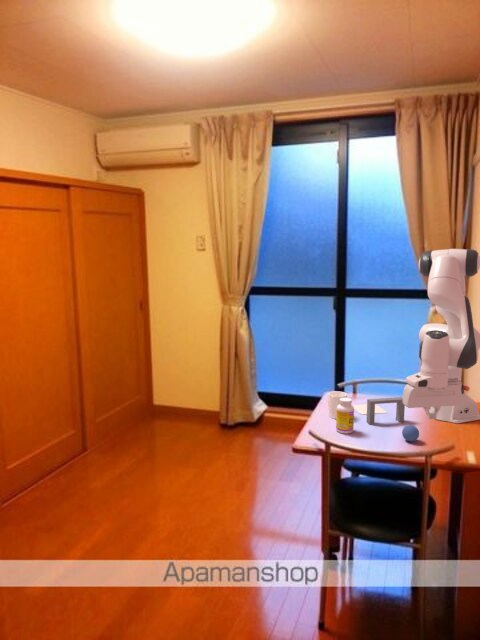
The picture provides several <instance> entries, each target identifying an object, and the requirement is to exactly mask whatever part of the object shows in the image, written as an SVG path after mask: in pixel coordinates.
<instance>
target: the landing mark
mask: <svg viewBox="0 0 480 640" xmlns="http://www.w3.org/2000/svg"><path fill="white" fill-rule="evenodd" d="M351 405H352V404H351ZM352 406H353V407H354V411H356V412H357V413H358V414H360V416H361V415H364V416H365V415H367V403H364V404H353V405H352ZM378 414H388V412H387V411H386V410H385V409H383V408H382V407H380V406H379V404H375V415H378Z"/></svg>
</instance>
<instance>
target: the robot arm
mask: <svg viewBox="0 0 480 640" xmlns="http://www.w3.org/2000/svg"><path fill="white" fill-rule="evenodd" d="M479 254H480V253H479V252H478V251H477V249H476V250H475V249H470V248H467V249H464V248H449V249H436V250H433V249H430V250H425V251H423V252H422V253H421V254H420V257H419V260H418V268H419V271H420V274H421V275H422V276H423V277H428V279H427V297H428V298H429V300H430V301H431V303H432V304H433V305H435V310H436V312H437V314H438V315H440V316H441V317H442V318H443V319H444V320H445V322H446V324H445V323H440V322H439V323H438V322H435V323H434V322H433V323H425V324H423V325H422V327H420V329H419V332H418V339H419V342H420V343H419V347H418V348H419V351H418V357H419V359H420V361H421V365H420V371H419V372H415V373H413V374H412V375H408V376H407V377H406V378H405V383H407V384H406V385H405V386H404V388H403V392H402V398H403V404H404V405H405V408H406V407H407V408H408V409H414V408H415V409H416V408H417V409H418V408H423V410H424V412H425V418H426V420H437V421H444V422H449V423H454V424H461V423H462V424H463V423H466V422H472V421H478V420H480V412H479V409H478V408H479V407H478V404H477V402H476V401H475V400H474V399H473V398H472V397H470V396H469V395H468V394H467V393H465V391H466V392H469V390H470V389H471V388H470V386H468V385H464V384H462V383H463V382H462V372H463V369H464V370H469V369H470V368H473V367H474V366H476V364H477V363H478V359H479V350H480V332H479V330H477V329H476V328H475V326H474V320H473V314H472V307H471V302H470V300H469V298H468V296H466V279H470V278H471V277H473V276H476V275H477V274H478V272H479V270H480V255H479ZM465 277H466V279H465Z"/></svg>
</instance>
